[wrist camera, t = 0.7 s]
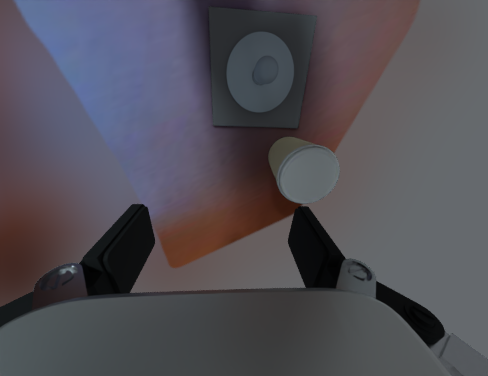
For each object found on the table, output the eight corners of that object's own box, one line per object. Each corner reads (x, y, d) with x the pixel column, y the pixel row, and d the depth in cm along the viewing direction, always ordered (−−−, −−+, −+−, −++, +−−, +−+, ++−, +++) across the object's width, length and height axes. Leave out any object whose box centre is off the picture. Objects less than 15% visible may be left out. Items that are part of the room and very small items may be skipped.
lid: (226, 30, 26) (224, 5, 19) (297, 36, 27) (320, 14, 20) (226, 111, 31) (225, 113, 24) (287, 113, 32) (302, 116, 25)
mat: (209, 8, 25) (208, 6, 25) (315, 17, 26) (317, 15, 26) (213, 125, 32) (213, 125, 32) (296, 127, 34) (297, 128, 33)
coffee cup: (257, 169, 37) (268, 197, 26) (274, 125, 33) (295, 137, 22) (296, 180, 39) (322, 211, 28) (316, 140, 35) (354, 157, 24)
